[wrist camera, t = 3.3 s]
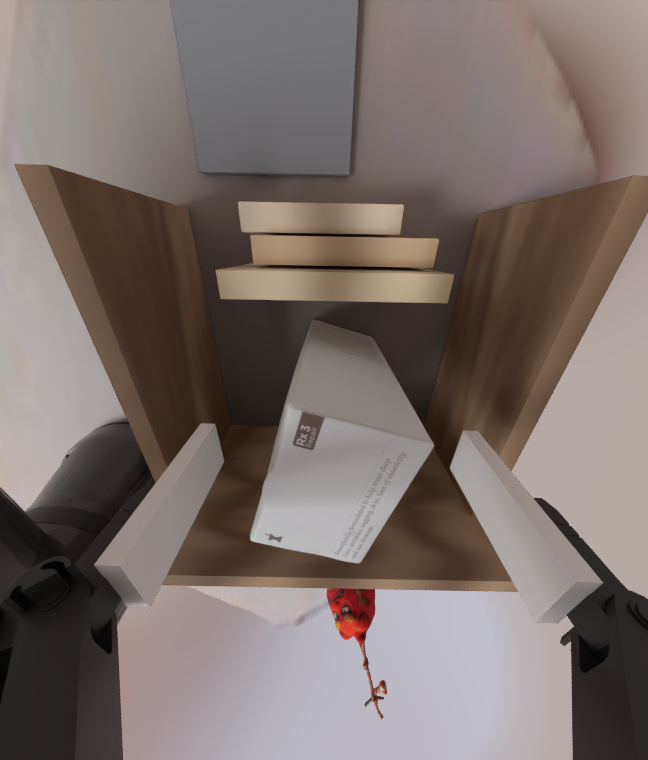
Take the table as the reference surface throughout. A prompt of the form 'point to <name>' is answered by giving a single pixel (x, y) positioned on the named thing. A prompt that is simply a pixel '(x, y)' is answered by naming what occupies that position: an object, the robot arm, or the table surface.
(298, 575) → the walnut rack
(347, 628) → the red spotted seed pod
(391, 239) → the offcut bundle
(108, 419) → the table surface
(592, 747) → the robot arm
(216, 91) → the grey rubber mat
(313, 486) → the skincare box
